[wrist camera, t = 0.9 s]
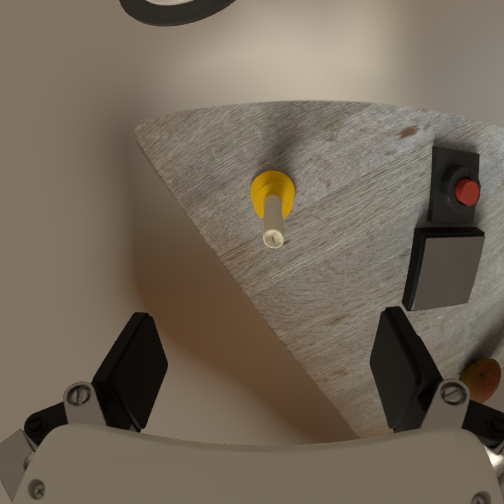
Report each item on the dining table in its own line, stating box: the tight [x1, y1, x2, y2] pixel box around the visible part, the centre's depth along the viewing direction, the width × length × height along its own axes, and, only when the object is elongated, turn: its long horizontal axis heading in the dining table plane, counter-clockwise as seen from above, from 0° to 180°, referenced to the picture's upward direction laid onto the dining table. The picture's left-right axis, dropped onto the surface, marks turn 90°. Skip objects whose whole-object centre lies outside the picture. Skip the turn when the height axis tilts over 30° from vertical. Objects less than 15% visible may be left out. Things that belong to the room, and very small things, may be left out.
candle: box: [250, 170, 295, 248], centre depth 26 cm, size 5×5×16 cm
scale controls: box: [428, 147, 481, 223], centre depth 29 cm, size 10×8×3 cm
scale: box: [402, 227, 485, 311], centre depth 34 cm, size 12×12×3 cm
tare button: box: [455, 178, 479, 206], centre depth 27 cm, size 3×3×2 cm
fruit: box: [458, 359, 501, 404], centre depth 40 cm, size 12×13×10 cm
